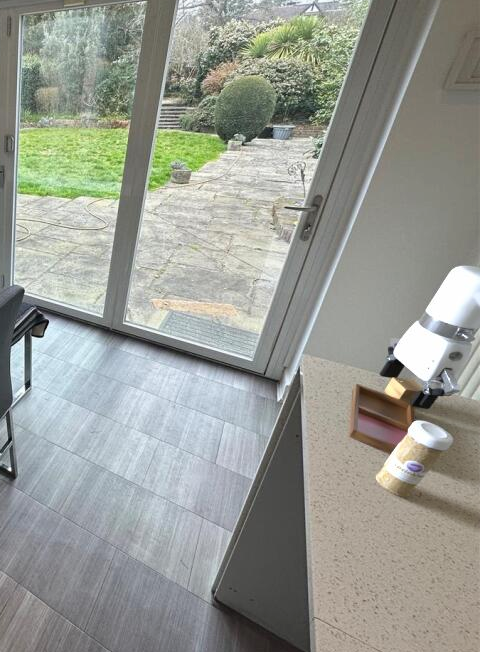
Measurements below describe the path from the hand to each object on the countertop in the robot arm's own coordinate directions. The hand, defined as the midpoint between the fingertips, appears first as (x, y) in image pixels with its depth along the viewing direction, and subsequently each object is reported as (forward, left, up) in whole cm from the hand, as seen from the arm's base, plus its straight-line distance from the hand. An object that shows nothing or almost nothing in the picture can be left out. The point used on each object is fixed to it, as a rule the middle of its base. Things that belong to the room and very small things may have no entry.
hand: (402, 390), depth 89 cm
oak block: (0, 0, -2) cm, 2 cm away
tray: (+9, +10, -2) cm, 13 cm away
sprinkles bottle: (+17, +26, -2) cm, 31 cm away
